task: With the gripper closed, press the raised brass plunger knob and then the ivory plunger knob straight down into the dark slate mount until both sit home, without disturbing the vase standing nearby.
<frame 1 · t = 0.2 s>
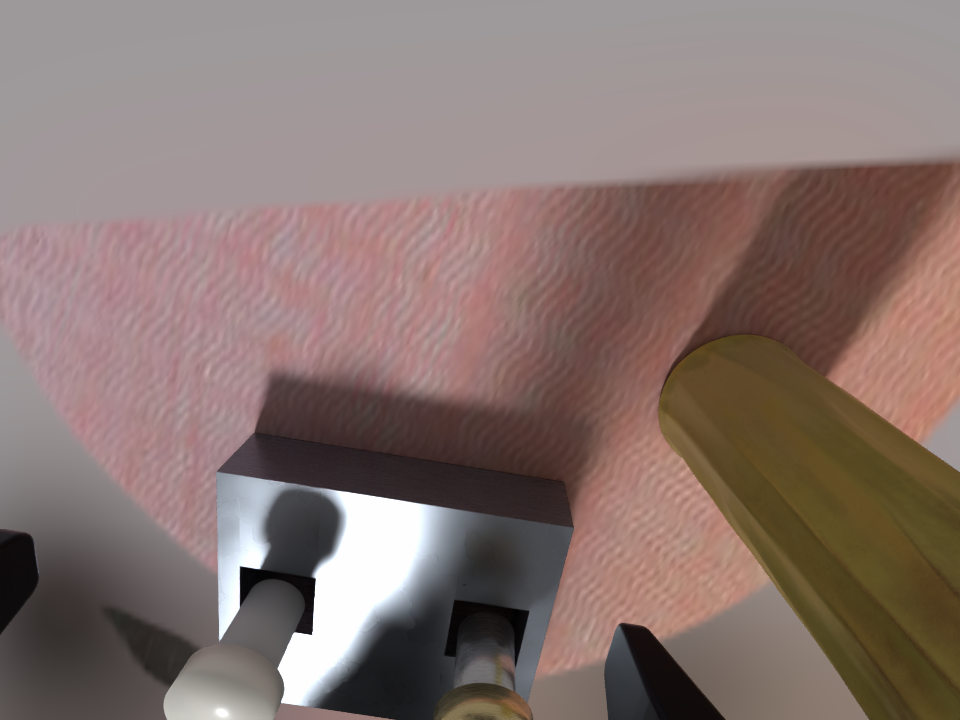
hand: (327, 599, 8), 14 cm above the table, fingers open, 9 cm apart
mount: (396, 564, 25), on the table
vase: (728, 400, 22), on the table
knob ivory: (250, 651, 20), point 6 cm above the table, slide at 3.0 cm
knob brass: (484, 687, 20), point 6 cm above the table, slide at 3.0 cm
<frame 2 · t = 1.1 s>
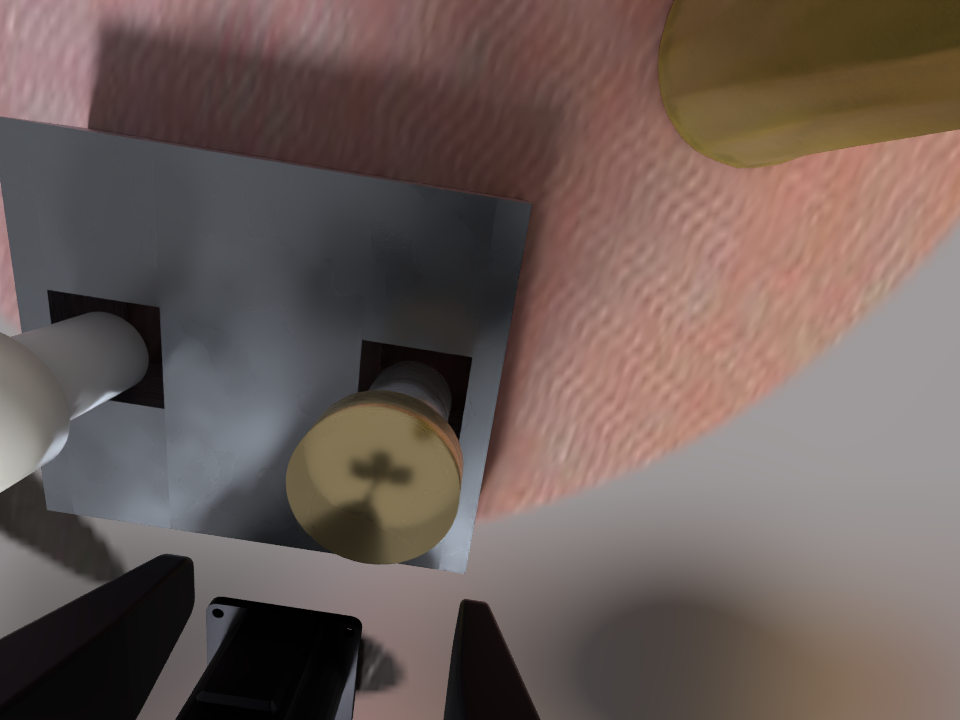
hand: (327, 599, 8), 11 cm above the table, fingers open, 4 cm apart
mount: (300, 343, 18), on the table
vase: (759, 56, 15), on the table
knob ivory: (36, 381, 13), point 6 cm above the table, slide at 3.0 cm
knob brass: (395, 437, 13), point 6 cm above the table, slide at 3.0 cm
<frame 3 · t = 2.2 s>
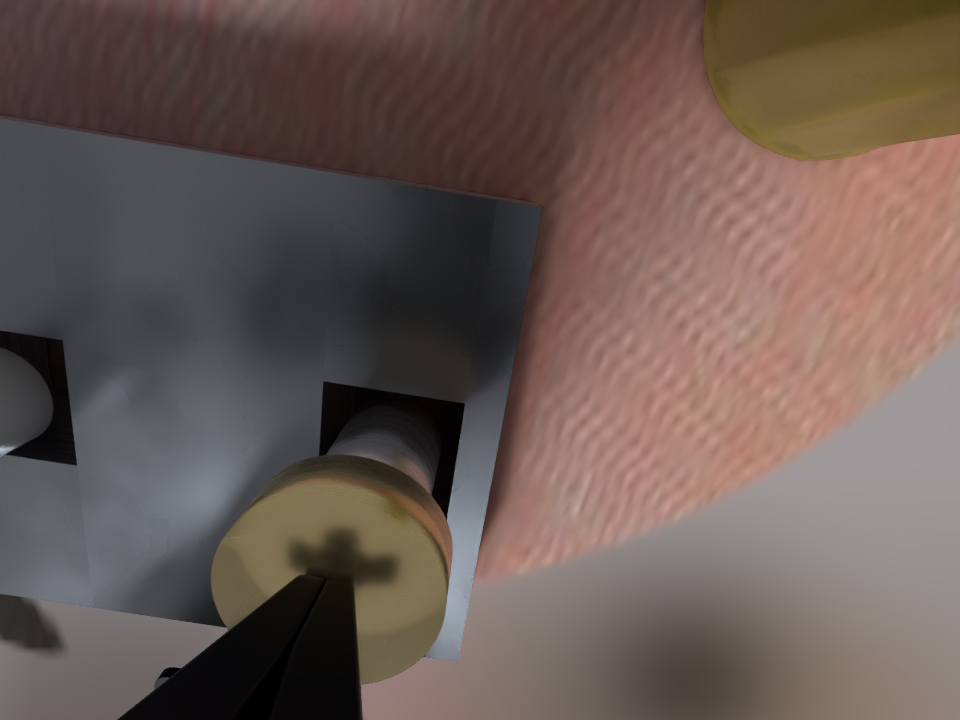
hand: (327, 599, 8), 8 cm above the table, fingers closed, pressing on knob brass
mount: (257, 376, 15), on the table
vase: (831, 18, 12), on the table
knob brass: (367, 503, 10), point 5 cm above the table, slide at 2.5 cm, touching gripper
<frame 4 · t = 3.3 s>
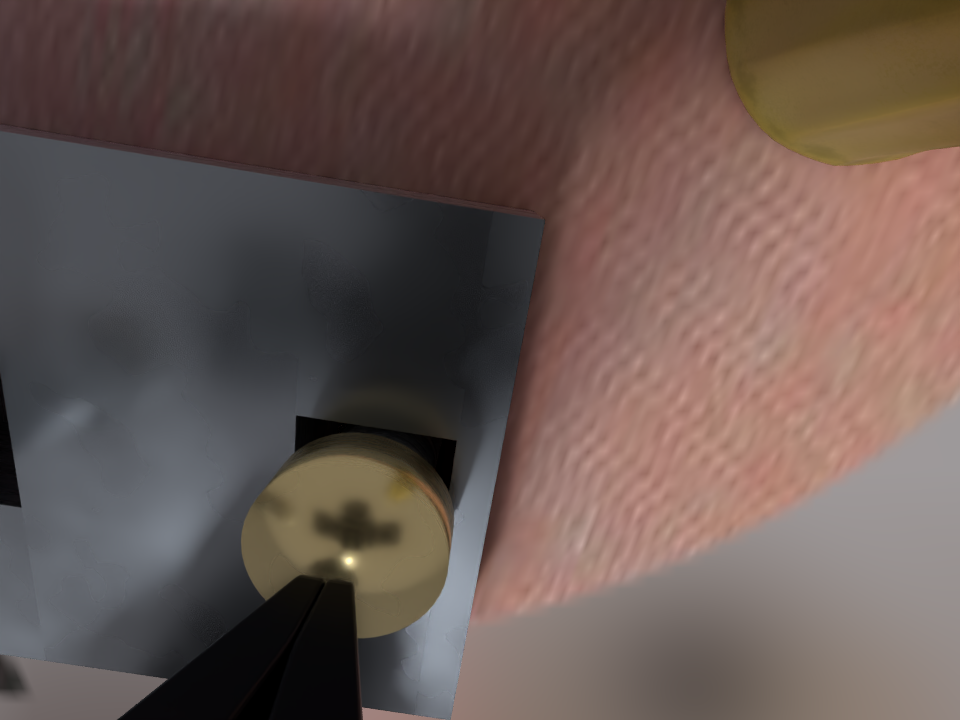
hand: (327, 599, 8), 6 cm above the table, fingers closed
mount: (229, 401, 14), on the table
vase: (869, 5, 10), on the table
knob brass: (376, 480, 11), point 3 cm above the table, slide at -0.1 cm
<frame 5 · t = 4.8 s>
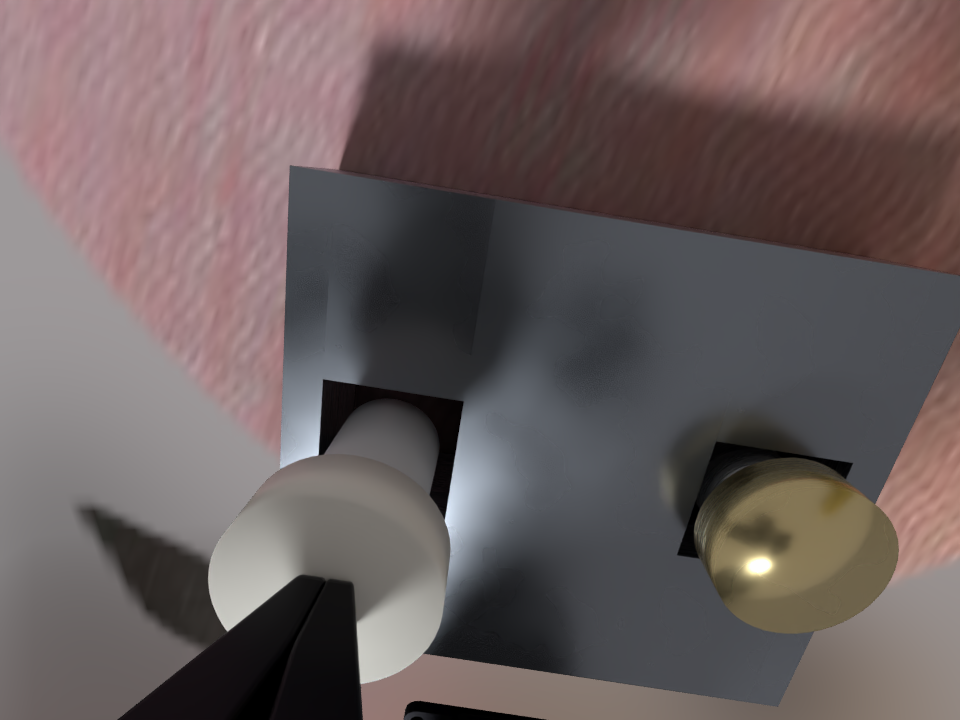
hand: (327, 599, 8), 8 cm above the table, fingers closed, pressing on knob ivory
mount: (560, 422, 15), on the table
knob ivory: (365, 503, 10), point 5 cm above the table, slide at 2.6 cm, touching gripper
knob brass: (749, 496, 13), point 3 cm above the table, slide at -0.1 cm
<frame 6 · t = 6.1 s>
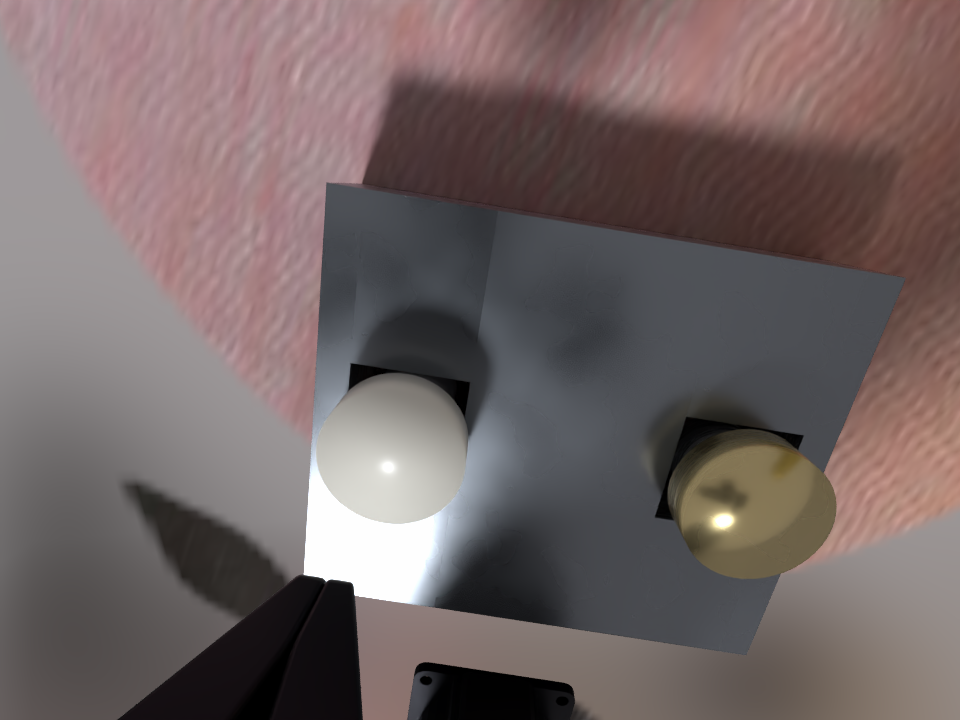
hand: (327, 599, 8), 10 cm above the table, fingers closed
mount: (554, 405, 17), on the table
knob ivory: (407, 417, 15), point 3 cm above the table, slide at -0.1 cm
knob brass: (717, 466, 15), point 3 cm above the table, slide at -0.1 cm
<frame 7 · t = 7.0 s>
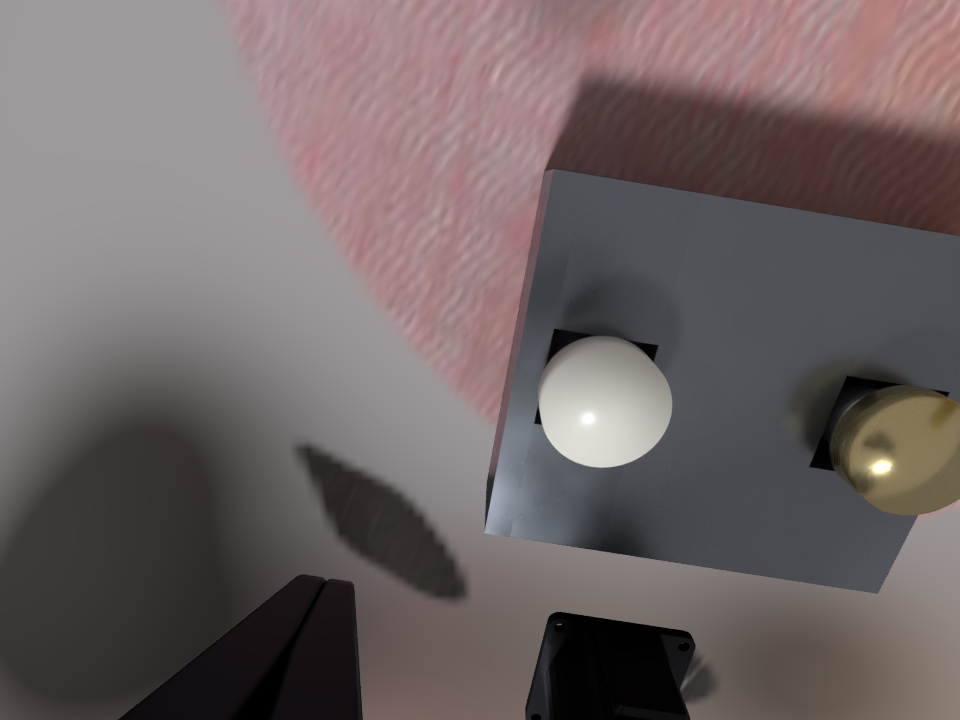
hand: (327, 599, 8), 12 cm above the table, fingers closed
mount: (698, 372, 19), on the table
knob ivory: (591, 378, 17), point 3 cm above the table, slide at -0.1 cm
knob brass: (864, 422, 17), point 3 cm above the table, slide at -0.1 cm
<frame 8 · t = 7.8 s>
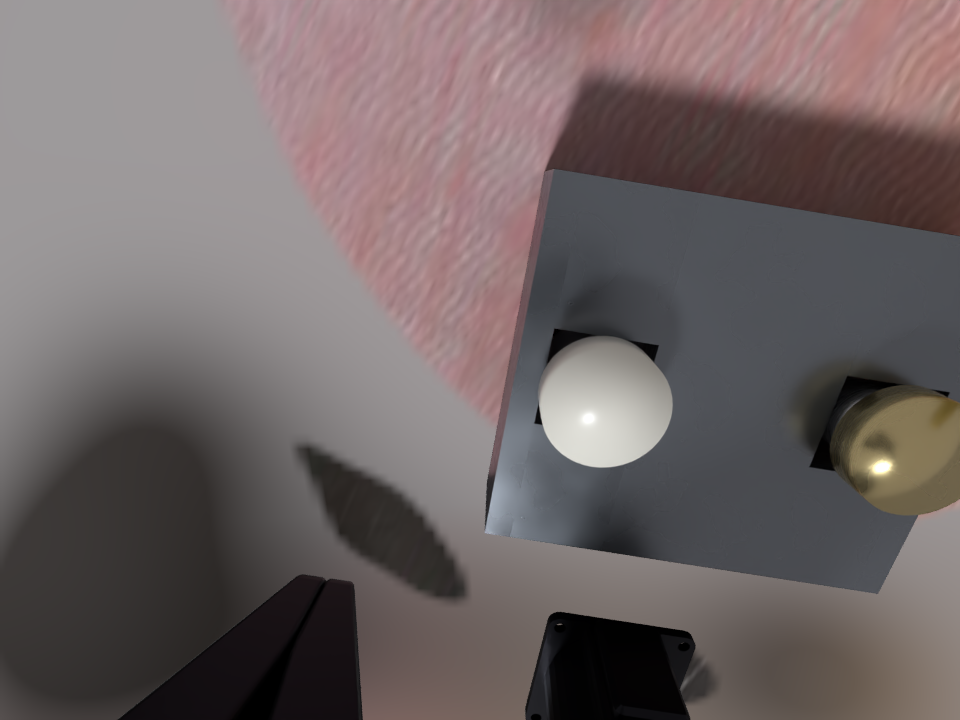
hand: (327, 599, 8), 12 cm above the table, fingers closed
mount: (699, 372, 19), on the table
knob ivory: (591, 378, 17), point 3 cm above the table, slide at -0.1 cm
knob brass: (864, 422, 17), point 3 cm above the table, slide at -0.1 cm
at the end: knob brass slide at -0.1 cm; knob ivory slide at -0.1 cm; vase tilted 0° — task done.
